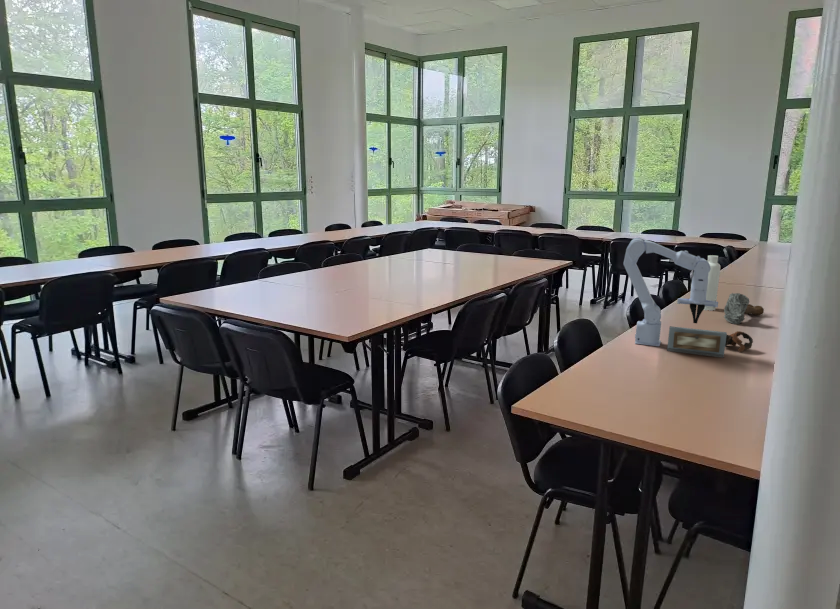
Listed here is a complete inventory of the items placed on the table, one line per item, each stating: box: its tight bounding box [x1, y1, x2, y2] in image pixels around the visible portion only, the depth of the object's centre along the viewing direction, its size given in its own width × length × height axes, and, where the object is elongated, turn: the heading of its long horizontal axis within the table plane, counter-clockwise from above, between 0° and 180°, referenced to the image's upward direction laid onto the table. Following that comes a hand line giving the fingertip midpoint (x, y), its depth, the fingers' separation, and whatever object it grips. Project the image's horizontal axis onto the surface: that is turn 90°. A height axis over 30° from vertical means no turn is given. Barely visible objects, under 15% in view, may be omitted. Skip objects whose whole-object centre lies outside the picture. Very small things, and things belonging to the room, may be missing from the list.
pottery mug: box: [725, 331, 754, 353], centre depth 228 cm, size 12×10×8 cm
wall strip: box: [666, 326, 728, 358], centre depth 223 cm, size 20×5×10 cm, turn 64°
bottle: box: [703, 254, 722, 312], centre depth 295 cm, size 8×8×28 cm
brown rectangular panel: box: [673, 332, 721, 352], centre depth 219 cm, size 16×3×6 cm, turn 64°
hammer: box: [723, 292, 765, 325], centre depth 276 cm, size 15×10×30 cm
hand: (695, 322), depth 228 cm, fingers closed
